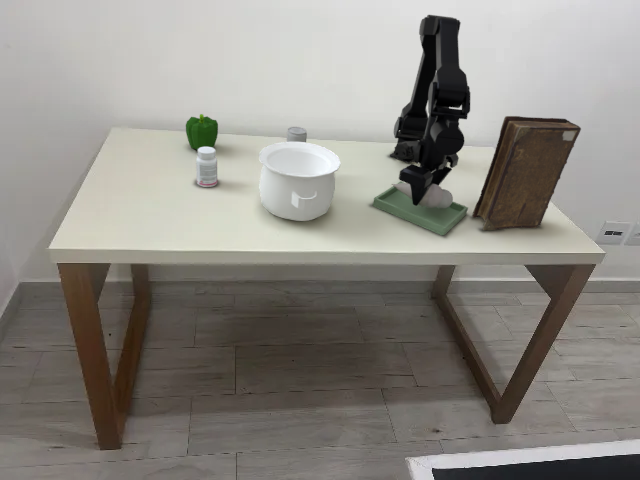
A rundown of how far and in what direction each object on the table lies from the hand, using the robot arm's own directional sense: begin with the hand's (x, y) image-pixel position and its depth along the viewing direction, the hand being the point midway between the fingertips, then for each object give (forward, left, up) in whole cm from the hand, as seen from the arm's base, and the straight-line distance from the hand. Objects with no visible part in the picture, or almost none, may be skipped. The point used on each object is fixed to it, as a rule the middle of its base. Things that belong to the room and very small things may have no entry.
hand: (421, 199), depth 116 cm
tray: (0, 0, -3) cm, 3 cm away
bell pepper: (+14, -59, -3) cm, 61 cm away
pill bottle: (+27, -43, -3) cm, 51 cm away
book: (-10, +18, -3) cm, 21 cm away
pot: (+21, -21, -3) cm, 30 cm away
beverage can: (+8, -32, -3) cm, 33 cm away
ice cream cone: (+1, 0, -1) cm, 2 cm away
